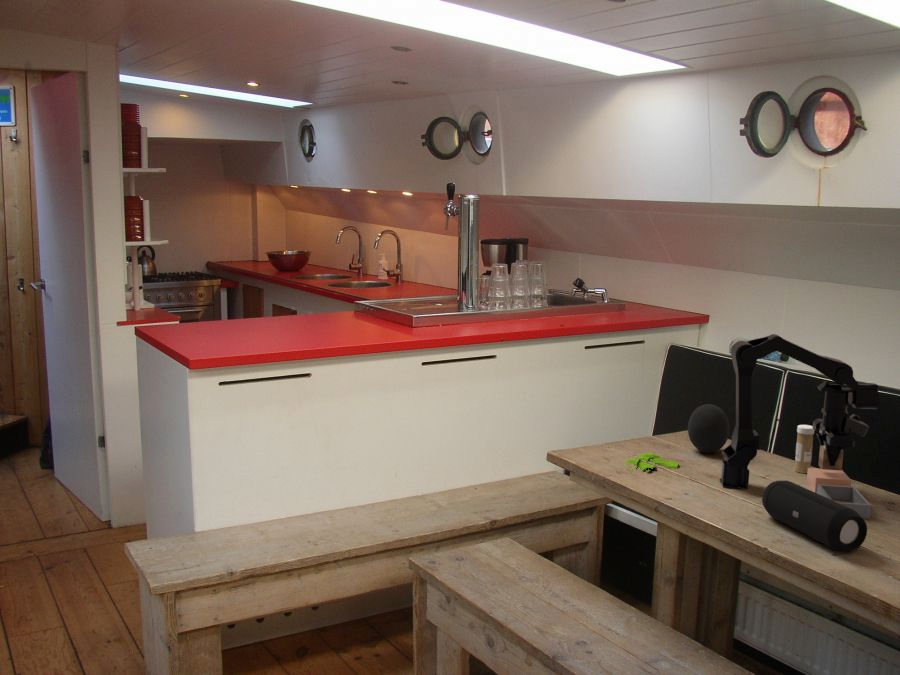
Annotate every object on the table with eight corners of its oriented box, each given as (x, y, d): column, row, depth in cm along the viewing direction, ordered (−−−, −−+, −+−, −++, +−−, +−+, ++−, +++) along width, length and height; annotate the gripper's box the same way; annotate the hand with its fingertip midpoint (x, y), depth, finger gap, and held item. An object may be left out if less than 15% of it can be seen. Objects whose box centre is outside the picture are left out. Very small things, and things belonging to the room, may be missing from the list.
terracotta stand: (814, 494, 239) (816, 478, 239) (806, 483, 248) (807, 467, 247) (849, 496, 238) (851, 480, 237) (840, 485, 247) (841, 469, 246)
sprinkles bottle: (811, 474, 256) (815, 428, 254) (794, 472, 258) (798, 427, 255) (809, 469, 261) (813, 425, 258) (793, 468, 262) (797, 423, 260)
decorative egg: (697, 458, 269) (701, 410, 267) (679, 447, 281) (682, 400, 279) (735, 457, 272) (739, 409, 269) (715, 445, 284) (718, 399, 281)
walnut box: (822, 469, 240) (824, 448, 239) (818, 464, 244) (820, 444, 243) (841, 470, 240) (843, 450, 239) (837, 466, 244) (839, 445, 243)
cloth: (650, 453, 276) (651, 446, 275) (704, 473, 257) (705, 465, 257) (600, 462, 265) (600, 454, 265) (652, 484, 247) (652, 475, 247)
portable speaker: (757, 517, 221) (760, 479, 220) (789, 513, 225) (793, 475, 223) (833, 558, 198) (837, 514, 196) (868, 552, 201) (872, 510, 200)
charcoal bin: (831, 516, 223) (832, 502, 223) (816, 497, 237) (817, 484, 236) (869, 518, 222) (871, 505, 221) (853, 499, 236) (854, 486, 235)
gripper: (878, 417, 229) (872, 476, 232) (856, 400, 247) (851, 455, 250) (832, 415, 231) (827, 473, 233) (814, 398, 249) (809, 452, 251)
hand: (830, 463), depth 242 cm, fingers closed on walnut box, 4 cm apart
